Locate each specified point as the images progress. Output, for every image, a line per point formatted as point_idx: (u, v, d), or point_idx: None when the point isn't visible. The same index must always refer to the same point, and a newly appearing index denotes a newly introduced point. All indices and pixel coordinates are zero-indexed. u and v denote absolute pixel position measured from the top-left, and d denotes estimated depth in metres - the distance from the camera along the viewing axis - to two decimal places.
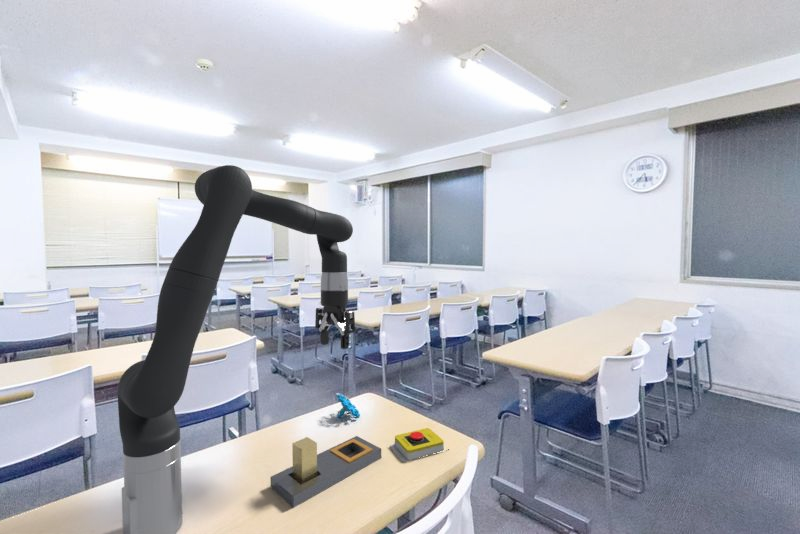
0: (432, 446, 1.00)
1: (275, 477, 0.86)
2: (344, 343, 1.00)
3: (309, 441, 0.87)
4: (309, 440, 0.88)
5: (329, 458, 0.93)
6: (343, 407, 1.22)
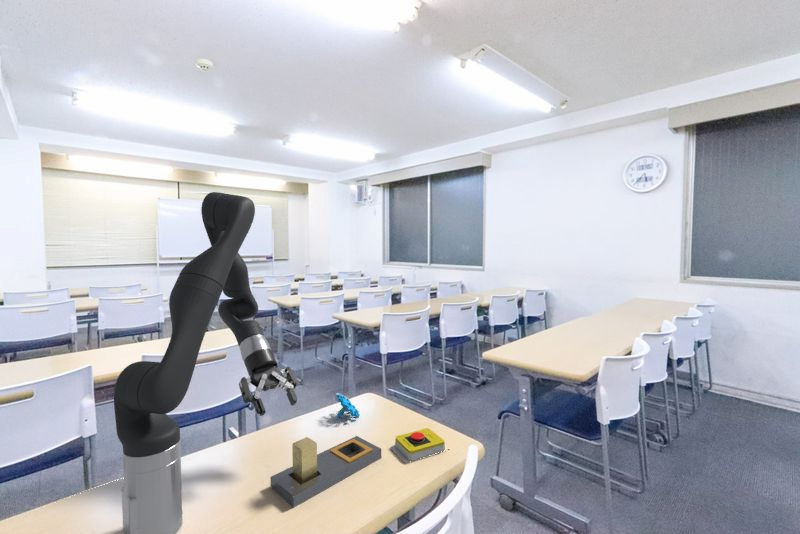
0: (434, 447, 1.00)
1: (275, 477, 0.86)
2: (295, 396, 0.98)
3: (309, 441, 0.87)
4: (309, 440, 0.88)
5: (329, 458, 0.93)
6: (343, 407, 1.22)
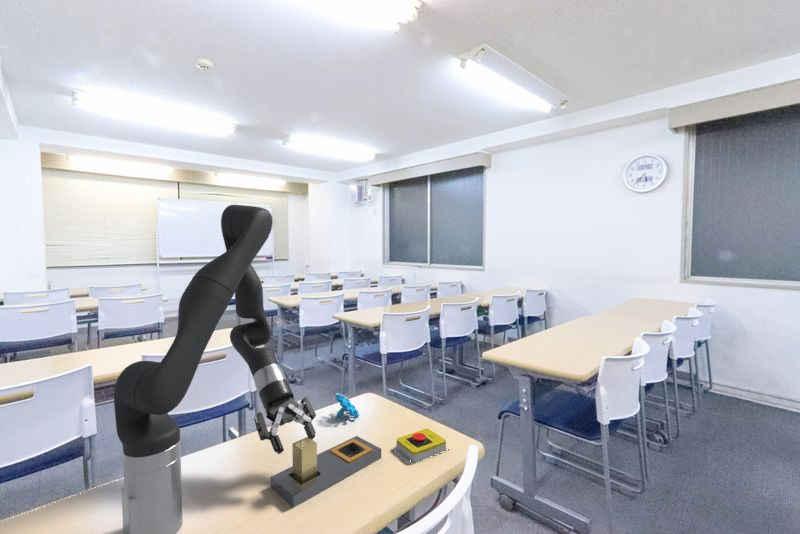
0: (436, 447, 1.00)
1: (275, 477, 0.86)
2: (313, 430, 0.93)
3: (309, 441, 0.87)
4: (309, 440, 0.88)
5: (329, 458, 0.93)
6: (342, 407, 1.22)
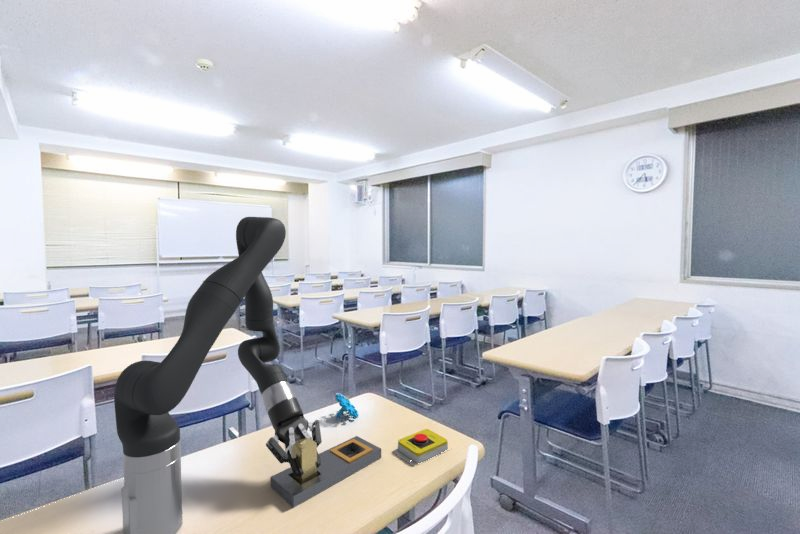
0: (439, 447, 1.00)
1: (275, 477, 0.86)
2: (318, 458, 0.88)
3: (309, 441, 0.87)
4: (309, 440, 0.88)
5: (329, 458, 0.93)
6: (342, 407, 1.23)
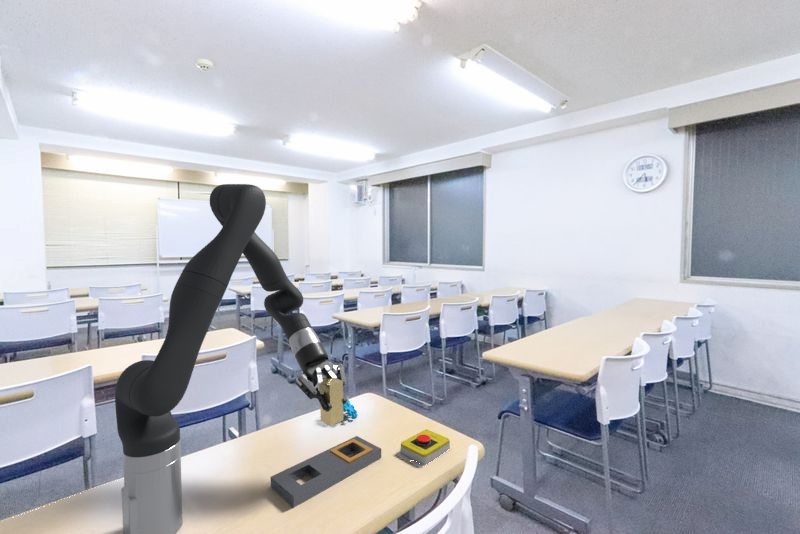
0: (442, 446, 1.00)
1: (275, 477, 0.86)
2: (344, 396, 0.94)
3: (335, 380, 0.93)
4: (335, 379, 0.93)
5: (329, 458, 0.93)
6: None
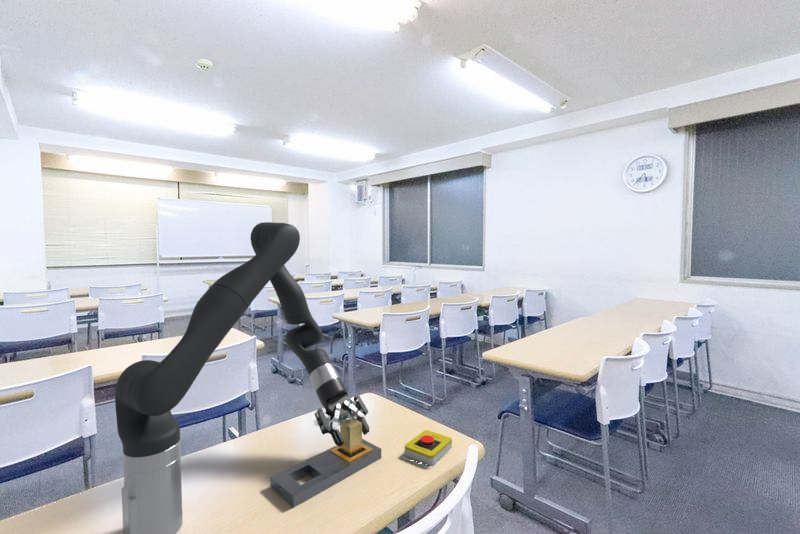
0: (446, 446, 1.00)
1: (275, 477, 0.86)
2: (367, 425, 1.00)
3: (355, 421, 0.97)
4: (354, 420, 0.98)
5: (329, 458, 0.93)
6: None
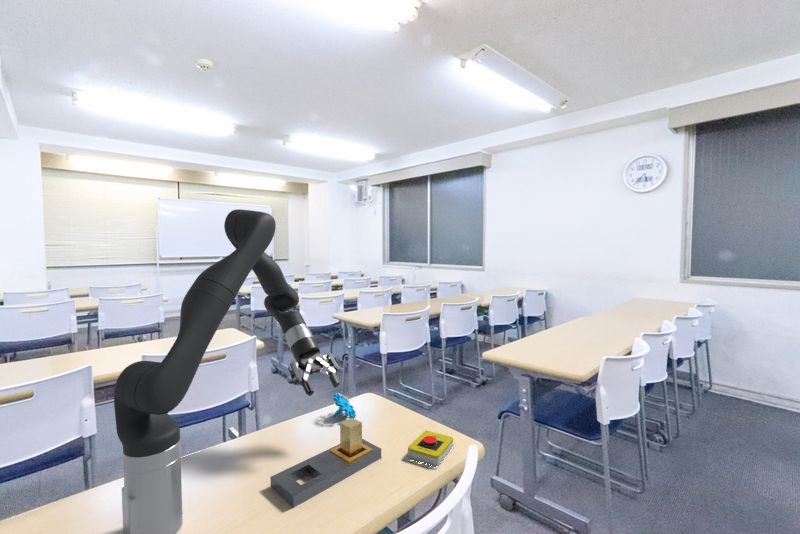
0: (449, 445, 1.00)
1: (275, 477, 0.86)
2: (337, 379, 1.08)
3: (355, 421, 0.97)
4: (354, 420, 0.98)
5: (329, 458, 0.93)
6: (339, 406, 1.23)
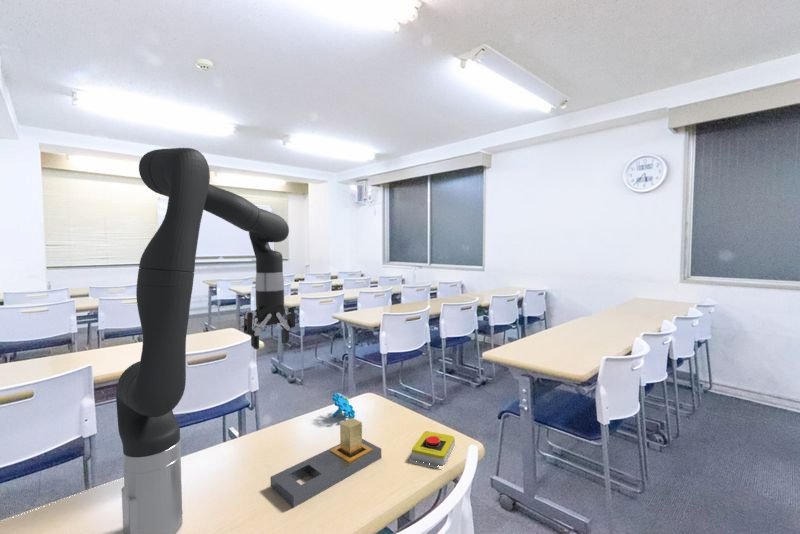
0: (451, 445, 1.01)
1: (275, 477, 0.86)
2: (287, 337, 1.07)
3: (355, 421, 0.97)
4: (354, 420, 0.98)
5: (329, 458, 0.93)
6: (339, 406, 1.23)
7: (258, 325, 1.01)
